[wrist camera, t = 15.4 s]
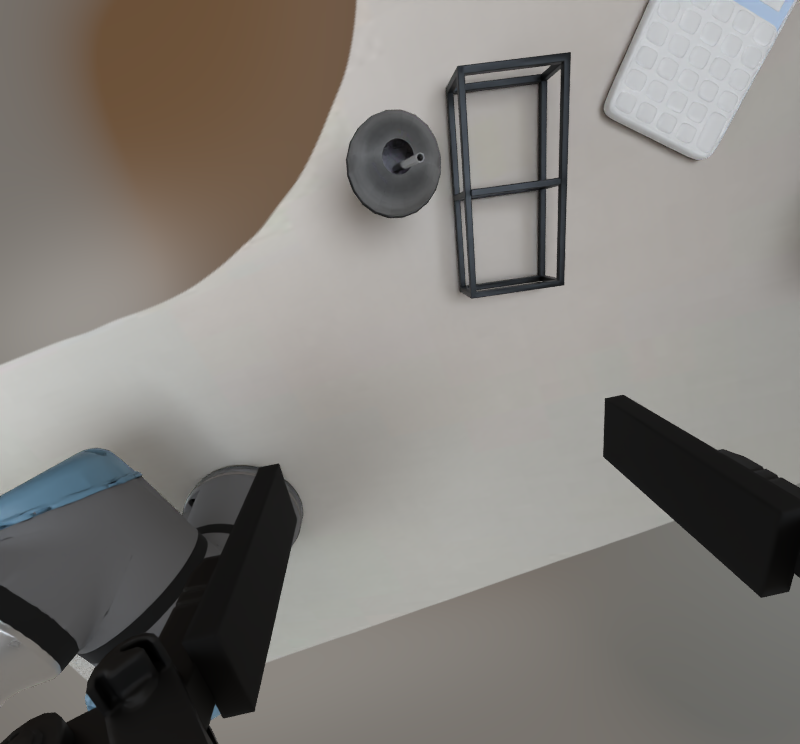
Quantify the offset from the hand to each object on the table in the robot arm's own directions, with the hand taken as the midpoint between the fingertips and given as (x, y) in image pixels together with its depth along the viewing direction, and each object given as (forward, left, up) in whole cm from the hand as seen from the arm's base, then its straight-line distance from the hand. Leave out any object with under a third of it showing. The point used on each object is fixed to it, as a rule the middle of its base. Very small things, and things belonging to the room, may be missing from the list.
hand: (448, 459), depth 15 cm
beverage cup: (+1, +13, -31) cm, 34 cm away
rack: (+13, +11, -31) cm, 35 cm away
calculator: (+34, +23, -31) cm, 52 cm away
